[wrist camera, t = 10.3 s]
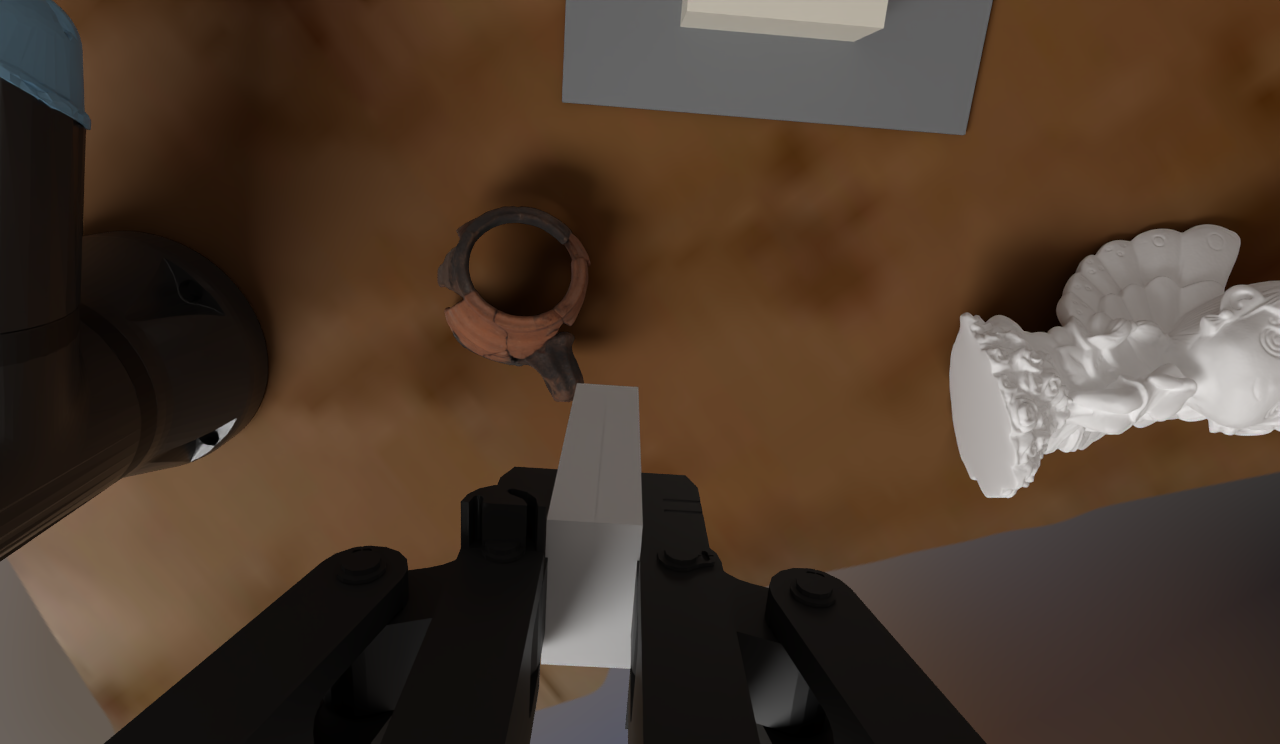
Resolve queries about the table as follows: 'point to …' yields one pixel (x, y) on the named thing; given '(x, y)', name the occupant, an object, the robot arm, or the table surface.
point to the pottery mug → (509, 333)
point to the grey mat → (780, 66)
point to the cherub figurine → (1119, 357)
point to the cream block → (788, 17)
